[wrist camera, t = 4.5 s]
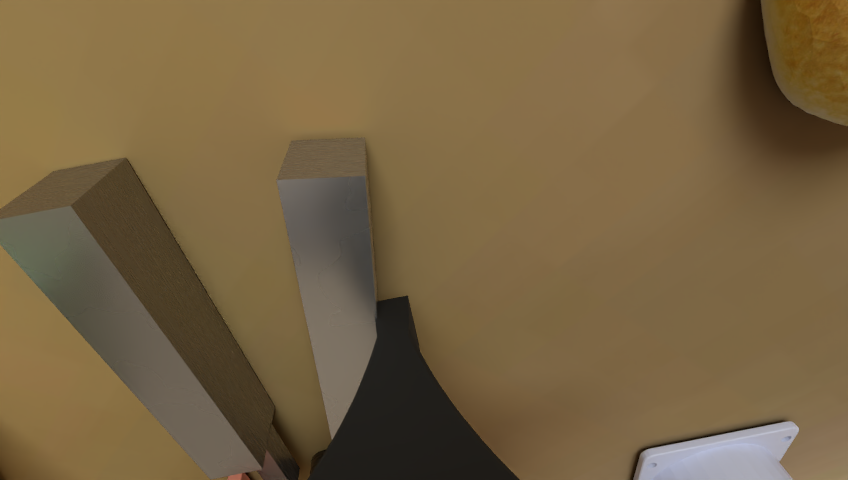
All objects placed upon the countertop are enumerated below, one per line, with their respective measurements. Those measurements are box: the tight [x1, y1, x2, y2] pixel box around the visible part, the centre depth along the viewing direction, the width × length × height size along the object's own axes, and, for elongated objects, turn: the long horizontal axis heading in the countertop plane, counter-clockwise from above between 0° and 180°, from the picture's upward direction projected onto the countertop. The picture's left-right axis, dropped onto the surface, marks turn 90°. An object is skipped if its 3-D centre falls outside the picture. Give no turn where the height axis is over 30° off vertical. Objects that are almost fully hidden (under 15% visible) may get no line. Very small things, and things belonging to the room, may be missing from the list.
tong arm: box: [277, 138, 378, 439], centre depth 14 cm, size 14×2×2 cm, turn 0°
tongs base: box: [0, 158, 326, 480], centre depth 14 cm, size 16×4×2 cm, turn 9°
